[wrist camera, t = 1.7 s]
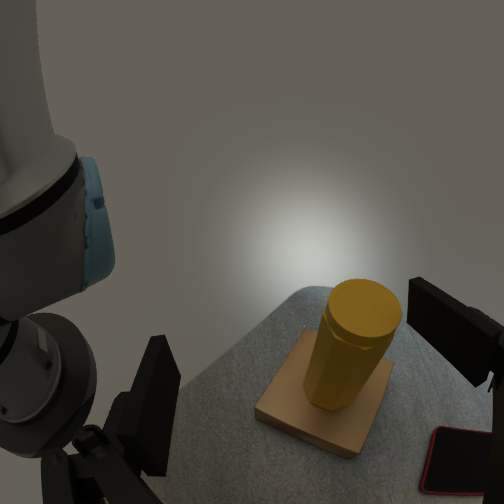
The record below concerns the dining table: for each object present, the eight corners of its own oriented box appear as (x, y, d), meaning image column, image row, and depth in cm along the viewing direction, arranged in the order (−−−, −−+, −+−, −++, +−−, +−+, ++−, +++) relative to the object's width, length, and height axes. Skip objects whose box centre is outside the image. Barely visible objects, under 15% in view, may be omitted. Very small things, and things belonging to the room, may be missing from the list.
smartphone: (435, 424, 20) (529, 434, 15) (431, 427, 21) (524, 437, 15) (419, 491, 15) (522, 490, 10) (415, 493, 16) (517, 492, 10)
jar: (295, 396, 23) (316, 318, 16) (318, 356, 26) (342, 269, 19) (344, 417, 21) (393, 348, 14) (363, 374, 24) (407, 293, 17)
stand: (254, 417, 24) (252, 383, 19) (301, 343, 31) (311, 294, 26) (349, 459, 20) (381, 438, 15) (384, 376, 26) (413, 332, 21)
